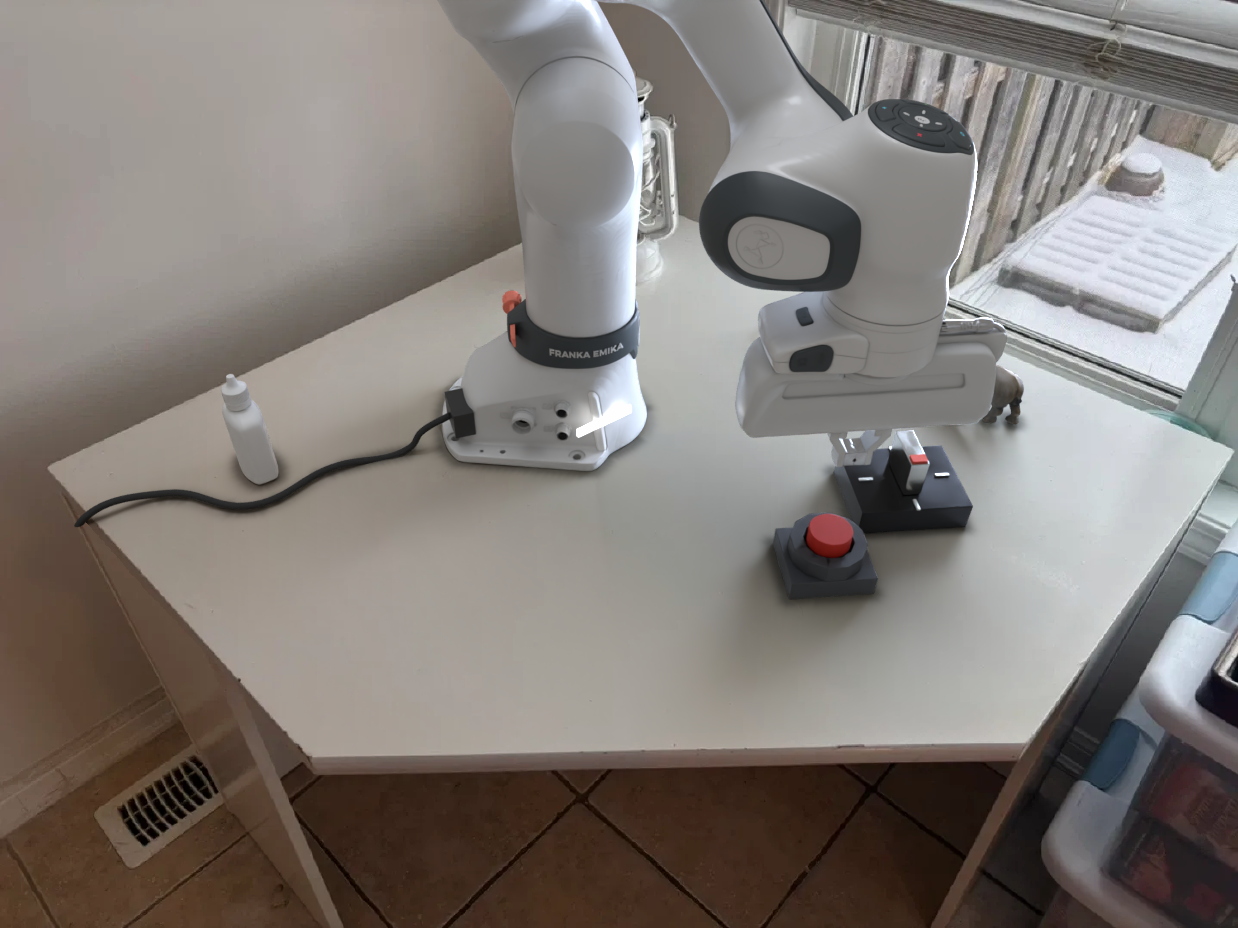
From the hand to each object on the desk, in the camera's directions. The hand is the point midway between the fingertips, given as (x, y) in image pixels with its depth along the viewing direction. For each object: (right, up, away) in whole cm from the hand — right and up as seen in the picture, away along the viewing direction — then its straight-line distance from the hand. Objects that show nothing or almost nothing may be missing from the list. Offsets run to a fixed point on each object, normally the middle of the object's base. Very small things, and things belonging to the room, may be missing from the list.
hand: (850, 461), depth 82 cm
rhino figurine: (+20, +8, +29) cm, 36 cm away
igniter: (0, -10, +9) cm, 14 cm away
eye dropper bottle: (-57, -1, +19) cm, 60 cm away
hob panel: (+9, -4, +16) cm, 19 cm away
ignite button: (0, -7, +7) cm, 10 cm away
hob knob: (+9, -2, +14) cm, 17 cm away
